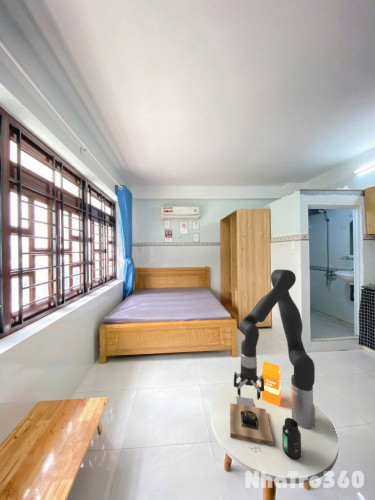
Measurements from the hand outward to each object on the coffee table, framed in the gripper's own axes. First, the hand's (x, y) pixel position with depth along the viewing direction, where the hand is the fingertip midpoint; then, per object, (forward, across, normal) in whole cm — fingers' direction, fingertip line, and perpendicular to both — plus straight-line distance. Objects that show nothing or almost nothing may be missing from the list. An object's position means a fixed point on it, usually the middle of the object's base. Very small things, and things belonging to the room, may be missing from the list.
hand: (248, 396), depth 93 cm
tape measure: (+13, -1, 0) cm, 13 cm away
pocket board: (+13, 0, 0) cm, 13 cm away
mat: (+13, +1, -13) cm, 18 cm away
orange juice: (+13, -14, -20) cm, 28 cm away
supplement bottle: (+13, -16, +10) cm, 23 cm away
